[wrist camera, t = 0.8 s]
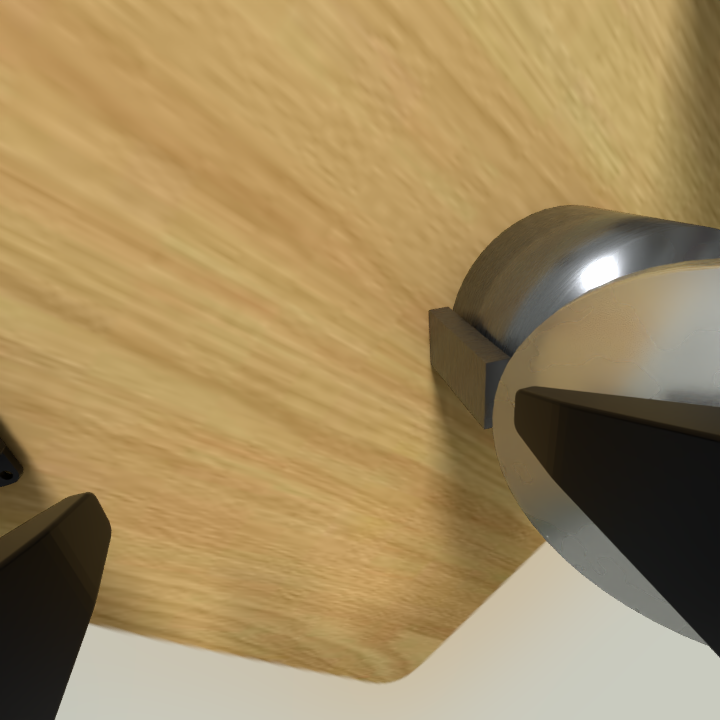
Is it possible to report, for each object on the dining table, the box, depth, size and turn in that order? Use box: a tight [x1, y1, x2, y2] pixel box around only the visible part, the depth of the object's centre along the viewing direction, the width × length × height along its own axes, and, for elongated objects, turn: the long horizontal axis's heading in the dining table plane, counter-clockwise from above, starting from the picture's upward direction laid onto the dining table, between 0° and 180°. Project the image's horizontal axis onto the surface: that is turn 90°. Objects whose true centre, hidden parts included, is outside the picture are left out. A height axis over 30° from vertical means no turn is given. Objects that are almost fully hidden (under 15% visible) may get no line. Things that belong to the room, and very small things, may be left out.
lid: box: [492, 258, 720, 645], centre depth 12 cm, size 12×12×2 cm
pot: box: [429, 205, 720, 429], centre depth 20 cm, size 12×11×6 cm
